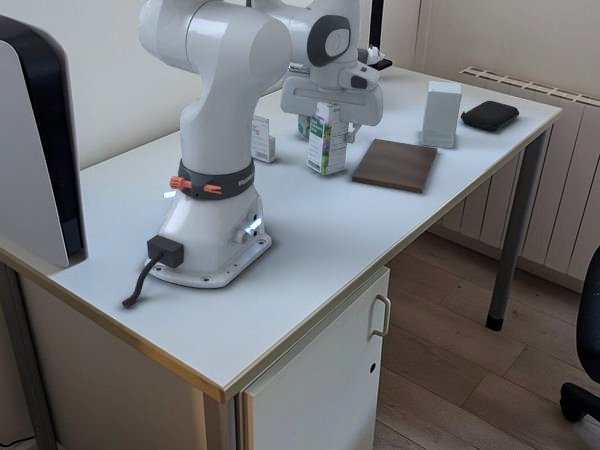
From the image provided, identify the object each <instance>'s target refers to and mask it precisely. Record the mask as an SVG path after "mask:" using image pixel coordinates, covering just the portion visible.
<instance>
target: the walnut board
mask: <svg viewBox="0 0 600 450" xmlns="http://www.w3.org/2000/svg"><path fill="white" fill-rule="evenodd" d="M438 148H439V147H433V146H426V145H418V144H412V143H405V142H400V141H394V140H388V139H381V138H374V139H373V140H372V142H371V144H370V146H369V147H368V148H367V150H366V152H365V153H364V156H363V158H362V159H361V161H360V162H359V164H358V165H357V167H356V169H355V171H354V172H353V173H352V176H351V182H354V183H359V184H365V185H369V186H377V187H381V188H386V189H393V190H398V191H405V192H409V193H416V194H419V195H420V194H423V191H424V189H425V186H426V183H427V181H428V178H429V175H430V172H431V170H432V168H433V165H434V163H435V159H436V157H437V155H438V150H439V149H438Z"/></svg>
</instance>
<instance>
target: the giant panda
mask: <svg viewBox="0 0 600 450" xmlns="http://www.w3.org/2000/svg"><path fill="white" fill-rule="evenodd" d="M357 53H358V61H359V62H361V63H363V64H365V65H367V66H369V65H370V66H371V65H376V64H377V63H378V62H381V61H383V60H384V59H385V58H386V54H384V53H383V52H380V50H379V49H378V47H376V46H374V45H373V43H371V44H369V48H368V49H366V48H360V47H357Z"/></svg>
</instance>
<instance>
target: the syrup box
mask: <svg viewBox="0 0 600 450" xmlns="http://www.w3.org/2000/svg"><path fill="white" fill-rule="evenodd" d="M339 113H340V106H339V104H332V103H324V102H318V103H317V110H316V116H315V117H311V122H310V136H308V137H309V139H308V152H307V167H308V168H311V169H313V171H315V172H317V173H319V174H321V175H322V176H328V175H331V174H335V173H338V172H341V171H344V170H345V169H346V168H345V167H346V159H347V158H346V157H347V149H348V143H346V135H347V133H348V132H349V127H350V123H349V122H342V121H340V120H339Z"/></svg>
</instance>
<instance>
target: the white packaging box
mask: <svg viewBox="0 0 600 450" xmlns="http://www.w3.org/2000/svg"><path fill="white" fill-rule="evenodd" d="M426 90H427V91H426V97H425V105H424V113H423V119H422V125H421V134H420V145H421V146H428V147H437V148H450V149H453V148H454V146H455V138H456V132H457V128H458V120H459V116H460V115H459V114H460V109H461V104H462V103H461V102H462V98H463V97H462V96H463V86H462V83H458V82H448V81H434V80H428V83H427V89H426Z"/></svg>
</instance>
